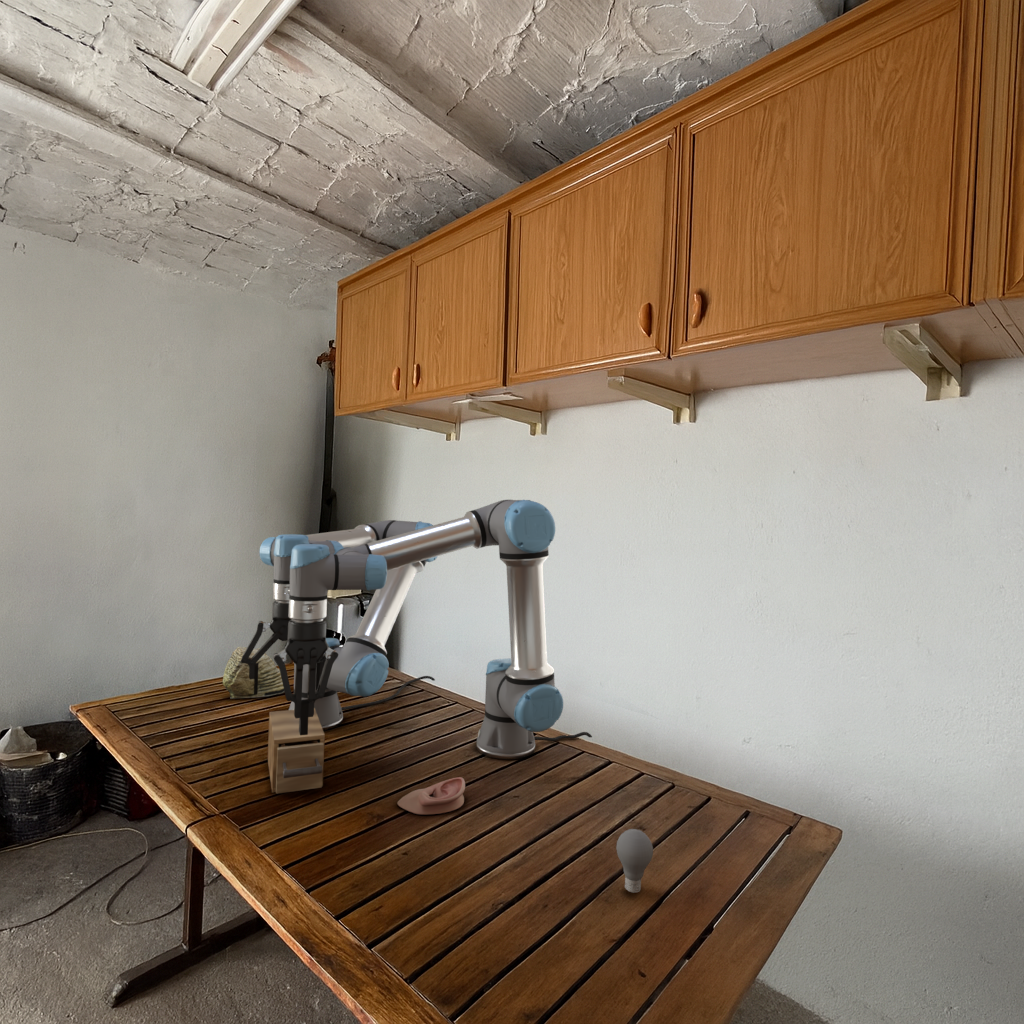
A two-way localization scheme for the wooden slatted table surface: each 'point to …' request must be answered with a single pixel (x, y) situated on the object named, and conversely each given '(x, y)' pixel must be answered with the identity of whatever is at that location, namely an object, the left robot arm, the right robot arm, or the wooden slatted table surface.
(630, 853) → the light bulb
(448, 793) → the anatomical model
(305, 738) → the cabinet
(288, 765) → the drawer
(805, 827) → the wooden slatted table surface
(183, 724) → the wooden slatted table surface
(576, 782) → the wooden slatted table surface
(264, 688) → the fossil
